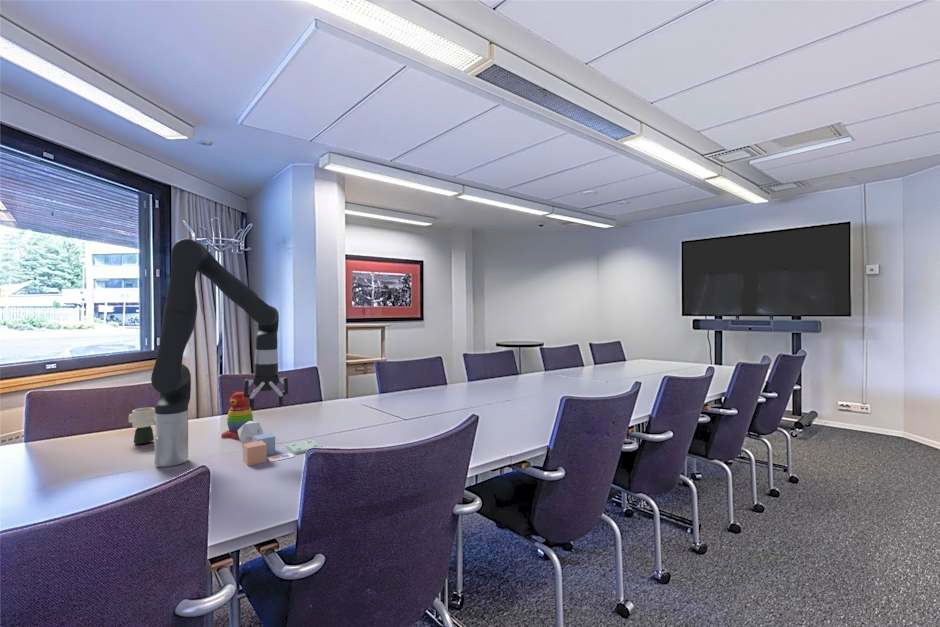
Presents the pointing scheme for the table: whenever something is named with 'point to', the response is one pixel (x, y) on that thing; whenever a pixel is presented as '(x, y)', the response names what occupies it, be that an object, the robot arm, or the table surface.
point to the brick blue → (266, 441)
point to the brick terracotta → (254, 452)
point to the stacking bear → (237, 415)
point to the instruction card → (280, 457)
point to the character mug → (143, 424)
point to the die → (249, 431)
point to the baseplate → (302, 446)
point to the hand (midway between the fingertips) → (266, 407)
